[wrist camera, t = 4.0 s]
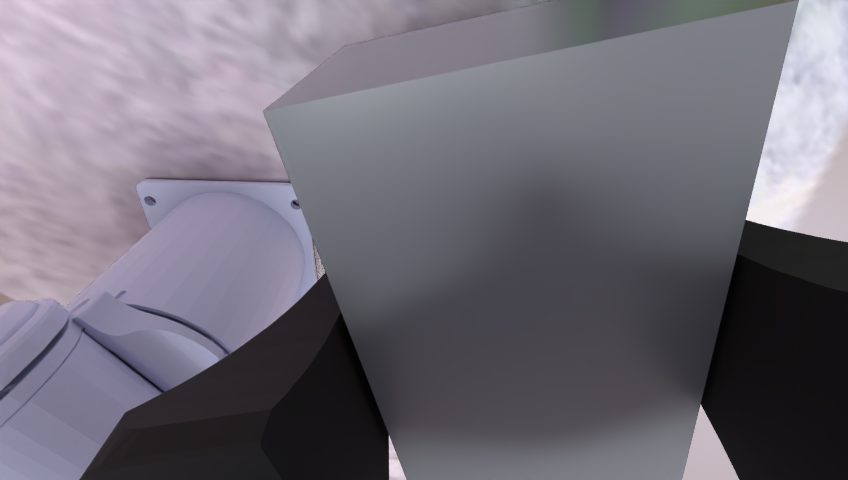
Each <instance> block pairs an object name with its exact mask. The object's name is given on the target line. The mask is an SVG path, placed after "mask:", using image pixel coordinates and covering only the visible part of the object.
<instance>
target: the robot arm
mask: <svg viewBox="0 0 848 480" xmlns="http://www.w3.org/2000/svg"><path fill="white" fill-rule="evenodd" d="M136 190H137V193H138V196H139V199H140V202H141V205H142V208H143V210H144V213H145V216H146V219H147V222H148V224H149V227H150V231H149V232H148V233H147V234H145V235H144V236H143V237H142V238H141V239H140V240H139V241H138V242H137V243H135V244H134V245H133V246H132V247H131V248H130V249H129V250H128V251H127V252H125V253H124V254H123V255H122V256H121V257H120V258H119V259H118V260H117V261H115V262H114V263H113V264H112V265H111V266H110V267H109V268H108V269H107V270H105V271H104V272H103V273H102V274H101V275H100V276H99V277H98V278H97V279H96V280H94V281H93V282H92V283H91V284H90V285H89V286H88V287H87V288H86V289H84V290H83V291H82V292H81V293H80V294H79V295H78V296H77V297H76V298H74V299H73V300H72V301H71V302H70V303H69V304H68V305H67V306H66V307H63V306H62V305H60V304H59V303H58V302H57V301H56V300H54V299H40V300H37V301H12V302H8V303H5V304H3V305H1V306H0V480H389V433H388V430H387V428H386V425H385V423H384V420H383V418H382V415H381V413H380V410H379V407H378V405H377V402H376V400H375V397H374V395H373V392H372V389H371V387H370V384H369V382H368V379H367V377H366V374H365V372H364V369H363V366H362V364H361V361H360V359H359V356H358V354H357V351H356V348H355V346H354V343H353V341H352V338H351V336H350V333H349V331H348V328H347V325H346V323H345V320H344V318H343V315H342V313H341V310H340V308H339V305H338V302H337V300H336V297H335V295H334V292H333V290H332V287H331V284H330V282H329V279H328V277H327V274H326V273H325V274H324V275H323V276H322V277H321V278H320V279H319V280H318V281H317V274H316V265H315V257H314V249H313V241H312V236H311V233H310V231H309V228H308V226H307V223H306V220H305V218H304V215H303V213H302V210H301V208H300V206H296V205H295V204H293V201H292V200H297V197H296V195H295V192H294V190H293V187H292V185H291V183H275V182H237V181H200V180H162V179H145V180H143V181H141V182H140V183H138V184H137V186H136ZM149 196H150V197H152V198H154V200H155V201H156V202H153V201H151V200H150V199H149ZM701 405H702V407H703V409H704V411H705V413H706V415H707V417H708V418H709V420H710V422H711V424H712V426H713V428H714V430H715V431H716V433H717V435H718V437H719V439H720V441H721V443H722V445H723V447H724V449H725V451H726V453H727V455H728V457H729V459H730V461H731V463H732V465H733V467H734V469H735V471H736V474H737V476H738V478H739V479H740V480H848V242H842V241H837V240H831V239H826V238H820V237H815V236H811V235H806V234H801V233H797V232H792V231H787V230H783V229H778V228H774V227H770V226H766V225H762V224H758V223H755V222H751V221H748V220H745V223H744V227H743V232H742V236H741V240H740V244H739V248H738V252H737V256H736V260H735V264H734V268H733V273H732V277H731V281H730V285H729V289H728V293H727V297H726V301H725V305H724V309H723V314H722V318H721V322H720V326H719V330H718V334H717V338H716V342H715V346H714V350H713V355H712V359H711V363H710V367H709V371H708V375H707V379H706V383H705V387H704V392H703V396H702V400H701Z"/></svg>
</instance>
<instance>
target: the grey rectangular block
mask: <svg viewBox="0 0 848 480" xmlns="http://www.w3.org/2000/svg"><path fill="white" fill-rule="evenodd" d="M798 2H799V0H553V1H548V2H543V3H539V4H534V5H530V6H525V7H520V8H516V9H511V10H507V11H502V12H497V13H493V14H488V15H484V16H479V17H474V18H470V19H465V20H461V21H456V22H451V23H447V24H442V25H438V26H433V27H428V28H424V29H419V30H415V31H410V32H405V33H401V34H396V35H392V36H387V37H382V38H378V39H373V40H369V41H364V42H360V43H355V44H350V45H346V46H343V47H342V48H341V49H340V50H338V51H337V52H336V53H335V54H333V55H332V56H331V57H330V58H328V59H327V60H326V61H325V62H324V63H322V64H321V65H320V66H319V67H317V68H316V69H315V70H314V71H312V72H311V73H310V74H309V75H307V76H306V77H305V78H304V79H302V80H301V81H300V82H299V83H297V84H296V85H295V86H294V87H292V88H291V89H290V90H289V91H287V92H286V93H285V94H284V95H282V96H281V97H280V98H279V99H277V100H276V101H275V102H274V103H272V104H271V105H270V106H269V107H267V108H266V109H265V110H264V111H263V113H264V115H265V118H266V121H267V123H268V126H269V128H270V131H271V133H272V136H273V138H274V141H275V144H276V146H277V149H278V151H279V154H280V156H281V159H282V162H283V164H284V167H285V169H286V172H287V174H288V177H289V179H290V182H291V185H292V187H293V190H294V192H295V195H296V197H297V200H298V203H299V205H300V208H301V210H302V213H303V215H304V218H305V220H306V223H307V226H308V228H309V231H310V233H311V236H312V238H313V241H314V243H315V246H316V249H317V251H318V254H319V256H320V259H321V261H322V264H323V267H324V269H325V272H326V274H327V277H328V279H329V282H330V284H331V287H332V290H333V292H334V295H335V297H336V300H337V302H338V305H339V308H340V310H341V313H342V315H343V318H344V320H345V323H346V325H347V328H348V331H349V333H350V336H351V338H352V341H353V343H354V346H355V348H356V351H357V354H358V356H359V359H360V361H361V364H362V366H363V369H364V372H365V374H366V377H367V379H368V382H369V384H370V387H371V389H372V392H373V395H374V397H375V400H376V402H377V405H378V407H379V410H380V413H381V415H382V418H383V420H384V423H385V425H386V428H387V430H388V433H389V436H390V438H391V441H392V443H393V446H394V448H395V451H396V453H397V456H398V459H399V461H400V464H401V466H402V469H403V471H404V474H405V477H406V479H407V480H682V478H683V474H684V469H685V465H686V461H687V457H688V453H689V449H690V445H691V440H692V437H693V433H694V428H695V424H696V420H697V416H698V412H699V408H700V404H701V400H702V396H703V392H704V387H705V383H706V379H707V375H708V371H709V367H710V363H711V359H712V355H713V350H714V346H715V342H716V338H717V334H718V330H719V326H720V322H721V318H722V314H723V309H724V305H725V301H726V297H727V293H728V289H729V285H730V281H731V277H732V273H733V268H734V264H735V260H736V256H737V252H738V248H739V244H740V240H741V236H742V232H743V227H744V223H745V219H746V215H747V211H748V207H749V203H750V199H751V195H752V190H753V186H754V182H755V178H756V174H757V170H758V166H759V162H760V158H761V154H762V149H763V145H764V141H765V137H766V133H767V129H768V125H769V121H770V117H771V113H772V108H773V104H774V100H775V96H776V92H777V88H778V84H779V80H780V76H781V71H782V67H783V63H784V59H785V55H786V51H787V47H788V43H789V39H790V35H791V30H792V26H793V22H794V18H795V14H796V10H797V6H798Z"/></svg>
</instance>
